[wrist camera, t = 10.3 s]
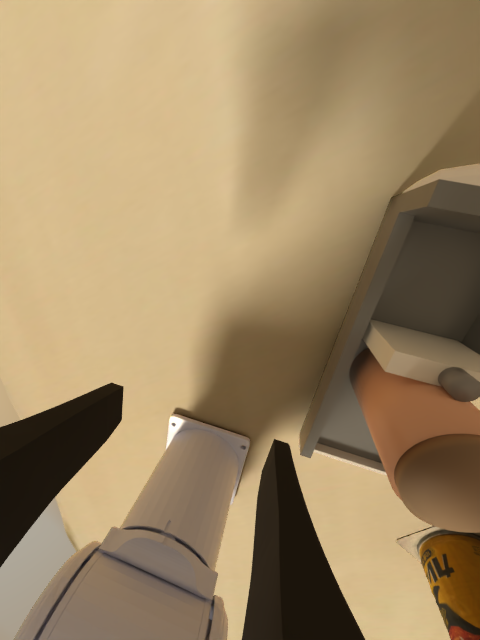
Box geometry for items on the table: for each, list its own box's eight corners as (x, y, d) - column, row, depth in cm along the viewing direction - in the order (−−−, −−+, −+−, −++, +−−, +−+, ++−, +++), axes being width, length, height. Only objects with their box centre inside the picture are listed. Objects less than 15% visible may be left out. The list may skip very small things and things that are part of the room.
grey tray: (393, 466, 20) (423, 534, 16) (298, 436, 21) (300, 492, 17) (544, 225, 13) (680, 220, 8) (391, 197, 14) (439, 179, 9)
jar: (404, 411, 18) (494, 552, 10) (338, 390, 18) (373, 506, 11) (441, 355, 16) (585, 473, 8) (366, 333, 17) (434, 423, 9)
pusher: (447, 356, 16) (530, 420, 10) (359, 333, 17) (392, 382, 11) (457, 340, 15) (549, 399, 10) (365, 318, 16) (403, 360, 11)
